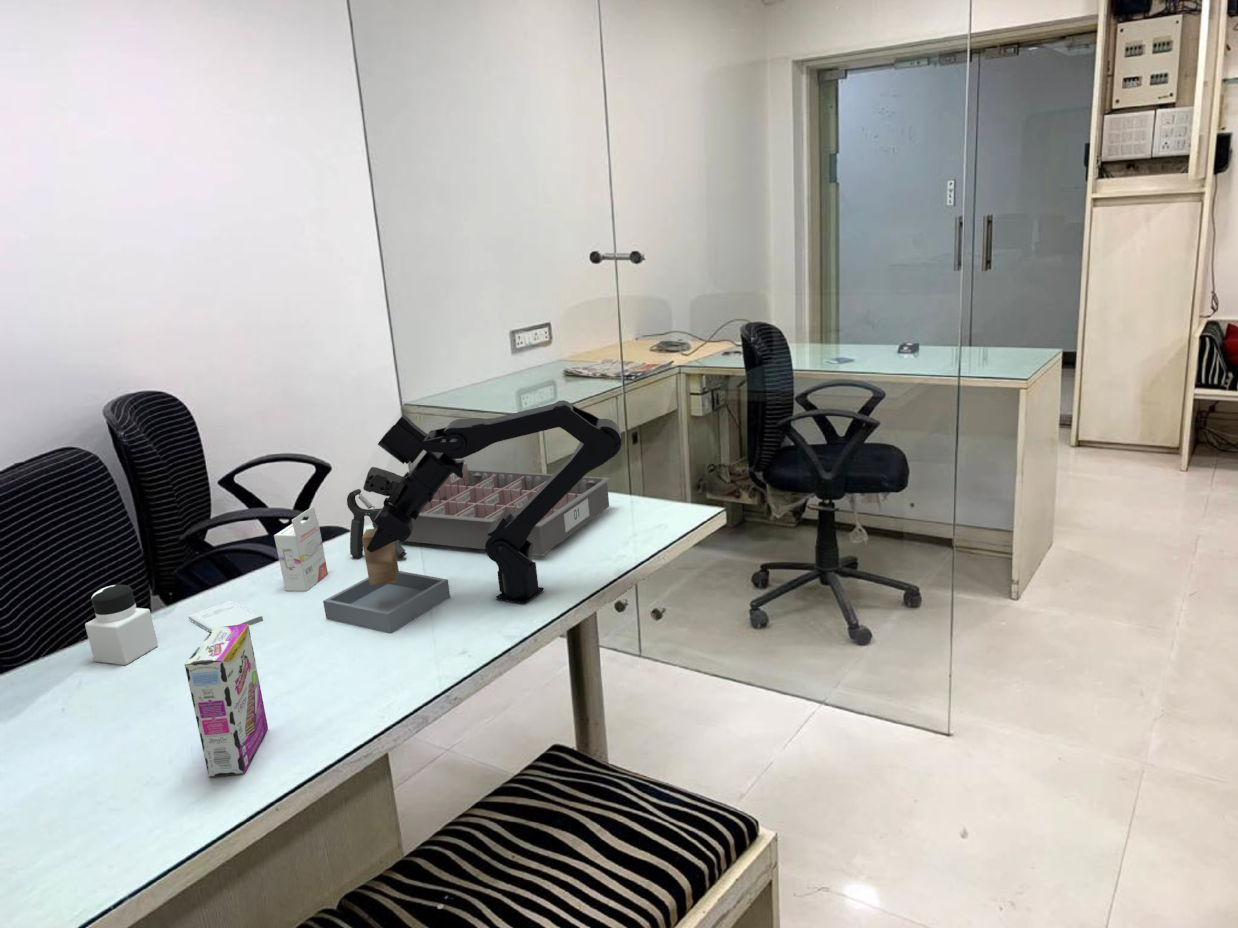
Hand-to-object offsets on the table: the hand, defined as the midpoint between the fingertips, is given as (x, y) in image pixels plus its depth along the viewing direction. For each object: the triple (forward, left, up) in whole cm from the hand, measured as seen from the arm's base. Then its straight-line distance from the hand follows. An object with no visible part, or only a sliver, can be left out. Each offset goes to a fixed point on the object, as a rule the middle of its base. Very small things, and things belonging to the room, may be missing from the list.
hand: (371, 545), depth 162 cm
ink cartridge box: (+24, -4, -12) cm, 27 cm away
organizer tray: (+5, -43, -13) cm, 45 cm away
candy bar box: (-15, +42, -12) cm, 47 cm away
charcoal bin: (-1, -1, -12) cm, 12 cm away
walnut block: (-1, -1, -7) cm, 7 cm away
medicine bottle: (+30, +30, -12) cm, 44 cm away
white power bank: (+25, +14, -13) cm, 31 cm away
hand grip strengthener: (+19, -19, -12) cm, 29 cm away
